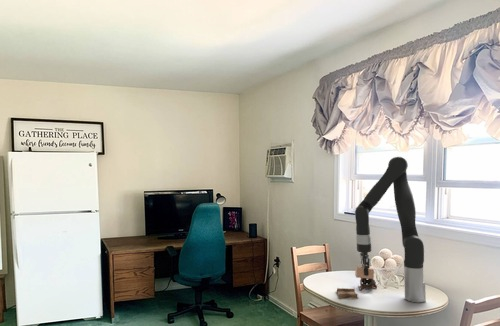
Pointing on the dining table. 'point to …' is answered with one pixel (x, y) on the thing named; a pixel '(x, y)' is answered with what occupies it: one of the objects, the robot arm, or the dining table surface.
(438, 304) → the dining table surface
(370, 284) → the dark brown rounded lump
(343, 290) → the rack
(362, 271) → the light brown block
